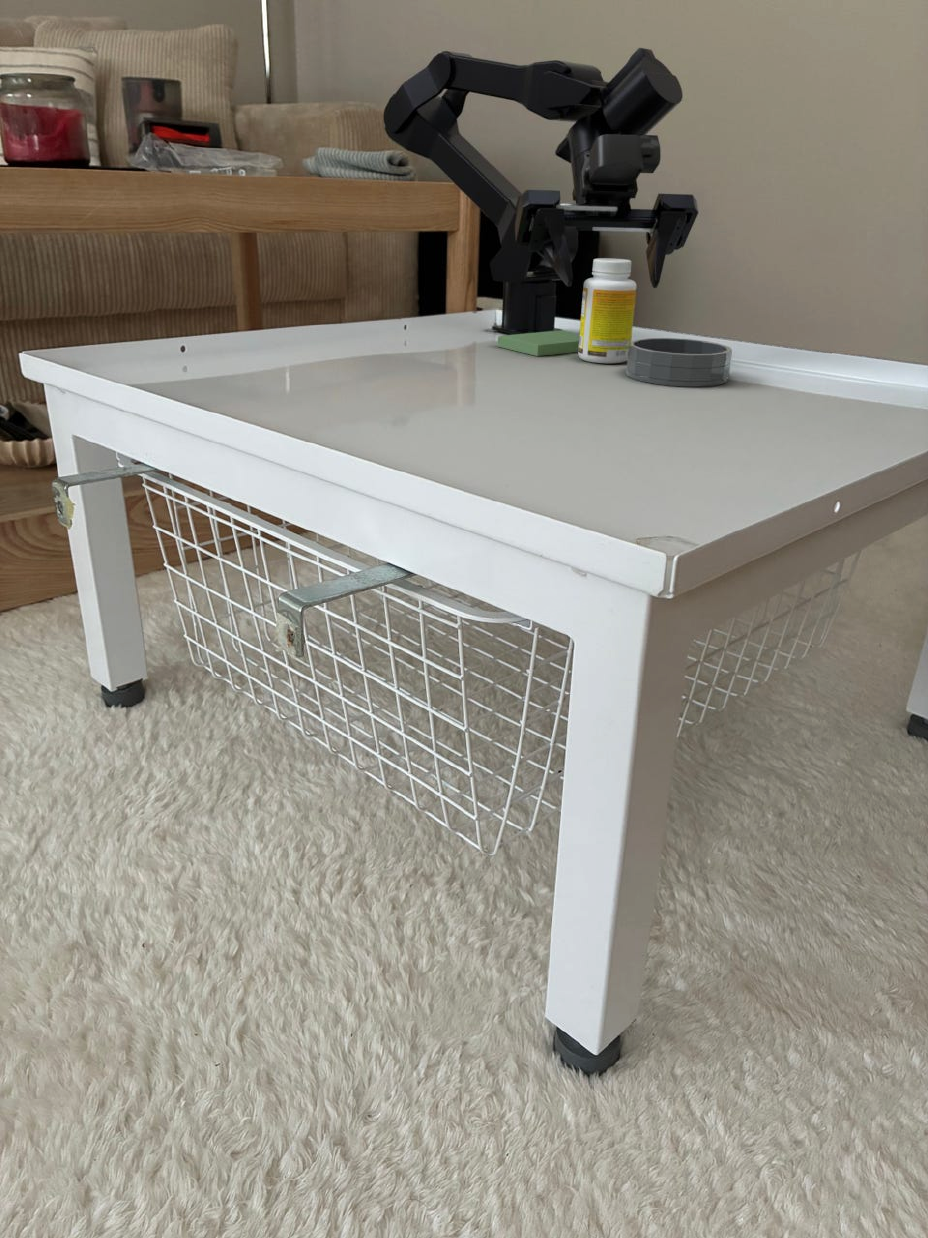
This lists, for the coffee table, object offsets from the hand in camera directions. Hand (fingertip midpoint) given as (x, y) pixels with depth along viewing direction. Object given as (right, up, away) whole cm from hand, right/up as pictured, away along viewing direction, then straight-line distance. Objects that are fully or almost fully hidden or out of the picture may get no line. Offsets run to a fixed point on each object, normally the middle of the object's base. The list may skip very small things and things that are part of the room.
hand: (613, 284), depth 98 cm
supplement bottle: (0, -7, +5) cm, 8 cm away
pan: (+6, -10, -3) cm, 12 cm away
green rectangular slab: (-6, -4, +11) cm, 13 cm away
